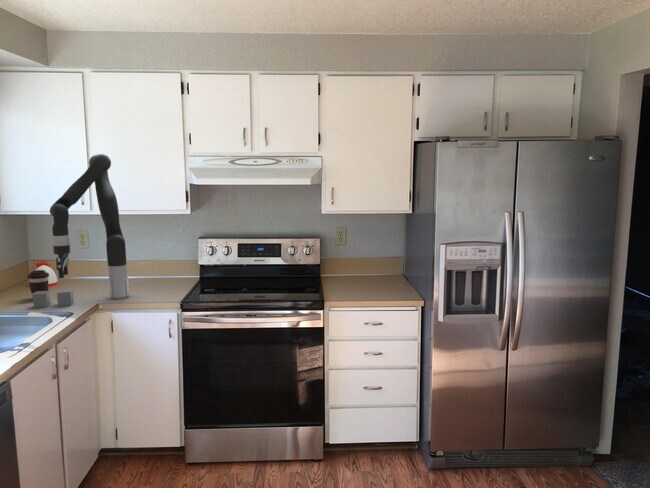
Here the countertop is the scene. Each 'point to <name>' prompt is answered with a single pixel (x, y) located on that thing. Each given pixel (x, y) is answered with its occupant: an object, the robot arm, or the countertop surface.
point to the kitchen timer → (52, 276)
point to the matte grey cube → (65, 297)
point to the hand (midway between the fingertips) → (63, 276)
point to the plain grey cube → (41, 299)
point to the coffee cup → (38, 281)
